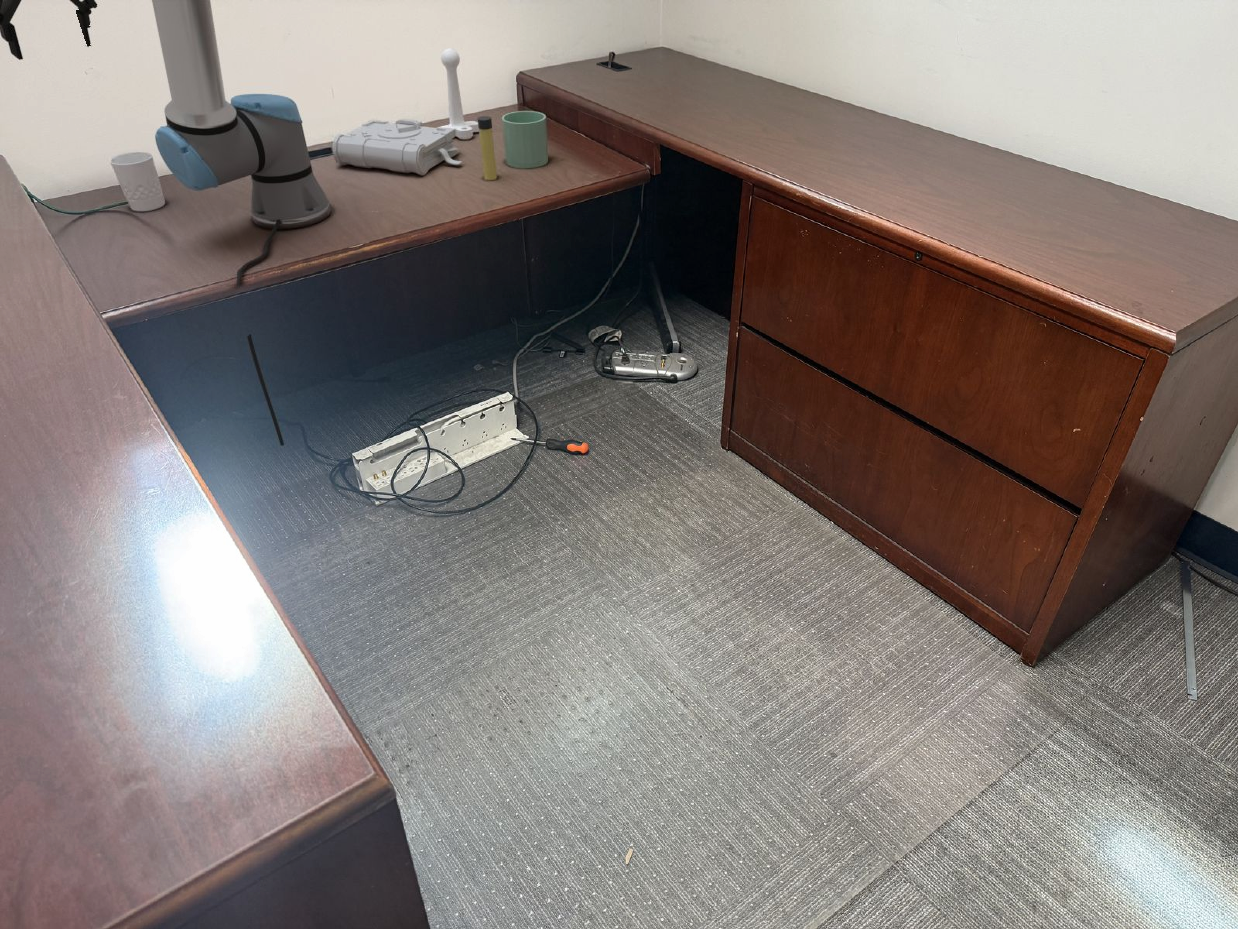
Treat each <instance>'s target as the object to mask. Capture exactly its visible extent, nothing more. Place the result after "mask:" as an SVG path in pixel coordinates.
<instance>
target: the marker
mask: <svg viewBox="0 0 1238 929" xmlns="http://www.w3.org/2000/svg"><path fill="white" fill-rule="evenodd" d="M477 122H478V128H479V132H478V133H479V143H480V152H481V161H482V170H483V179H484V180H485V181H494V180H496V179H497V177H498V176H497V166H496V157H495V155H496V154H495V144H494V136H493V135H494V134H493V120H492V117H491V116H488V115H486V116H485V115H482V116H479V117H477Z"/></svg>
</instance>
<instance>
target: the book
mask: <svg viewBox="0 0 1238 929" xmlns="http://www.w3.org/2000/svg"><path fill="white" fill-rule="evenodd" d="M438 127H439V128H438ZM438 127H430V126H423V122H422V121H418V120H415V119H410V118H409V119H408V118H400V119H398V120H396V121H395V122H389V121H387V120H381V119H370V120H368V121H366V122H364V123H362V124H361V126H360V127H359V126H358V127H357V128H355V129H353V130H352V131H349V132H347V133H346V134H341V133H338V134H336V135H335V136H334V138H333V140H332V150H331V152H332V156H333V158H334V160H335V162H336V163H337V164H338V165H340V166H346V165H352V166H354V167H357V168H365V169H372V168H373V169H384V170H389V171H391V172H394V173H401V174H402V173H403V174H411V173H412V174H413V173H414V174H417V175H419V176H425V175H426V174H427V173H428V171H429V170H430V169H432V168H433V167H435V166H436V165H439V164H440V163H442V162H443V161H445V162H446V163H448V164H449V165H453V166H460V165H461V164H463V161H461V160H455V159H453V157H455V156H456V155H457V154H459V151H458V146H456V145H453V143H454V140H452V139H454V138H455V137H457V136H456V131H455V129H453V128H443V127H441V126H438Z"/></svg>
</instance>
